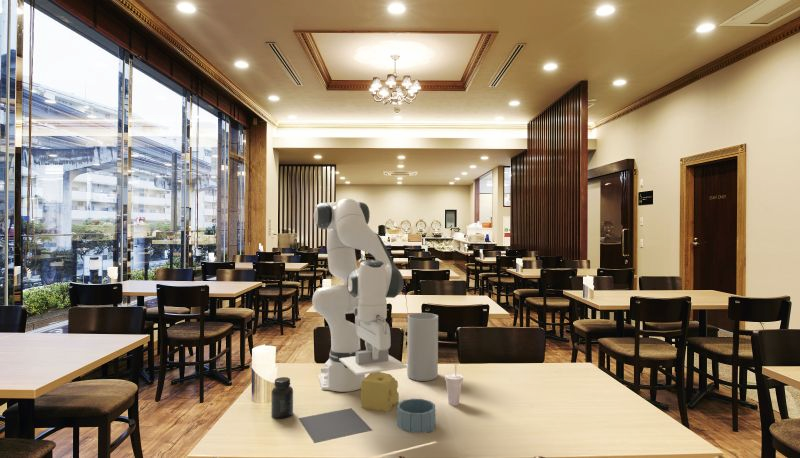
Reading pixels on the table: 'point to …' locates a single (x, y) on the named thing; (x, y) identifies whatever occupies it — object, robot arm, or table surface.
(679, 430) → the table surface
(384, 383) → the cheese
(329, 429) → the mat
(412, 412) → the bowl
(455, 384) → the smoothie
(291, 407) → the supplement bottle
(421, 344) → the cylinder vase
